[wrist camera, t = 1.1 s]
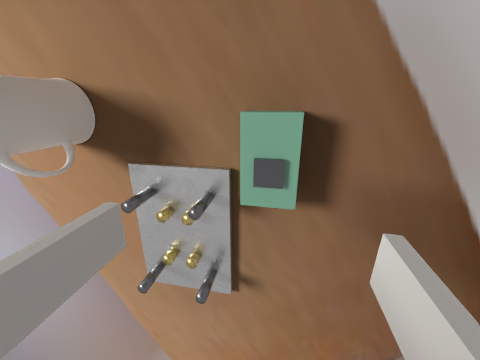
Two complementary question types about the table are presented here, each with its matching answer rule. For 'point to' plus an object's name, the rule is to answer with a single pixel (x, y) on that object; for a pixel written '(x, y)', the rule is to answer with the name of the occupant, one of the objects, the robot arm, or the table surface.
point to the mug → (42, 119)
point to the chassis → (184, 225)
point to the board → (270, 157)
